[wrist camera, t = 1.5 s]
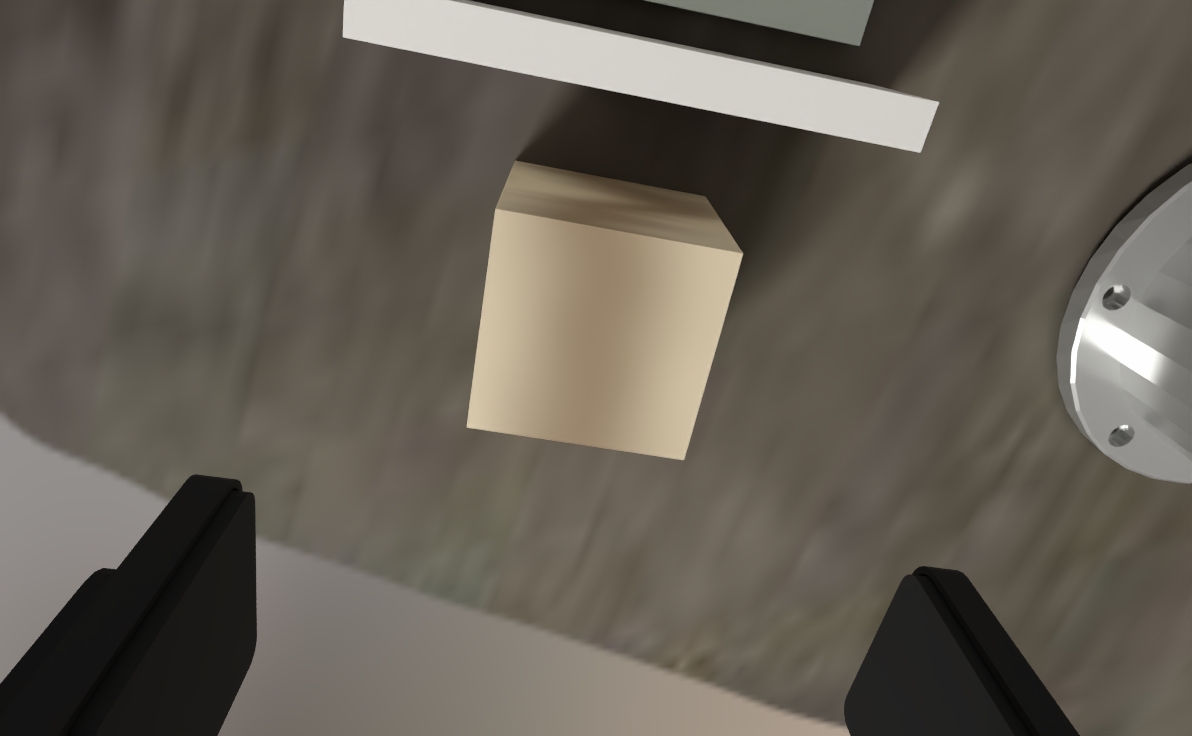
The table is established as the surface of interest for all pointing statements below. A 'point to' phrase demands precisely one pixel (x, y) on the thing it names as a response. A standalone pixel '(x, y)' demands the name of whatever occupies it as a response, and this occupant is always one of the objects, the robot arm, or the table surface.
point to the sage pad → (791, 15)
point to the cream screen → (643, 68)
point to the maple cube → (600, 311)
